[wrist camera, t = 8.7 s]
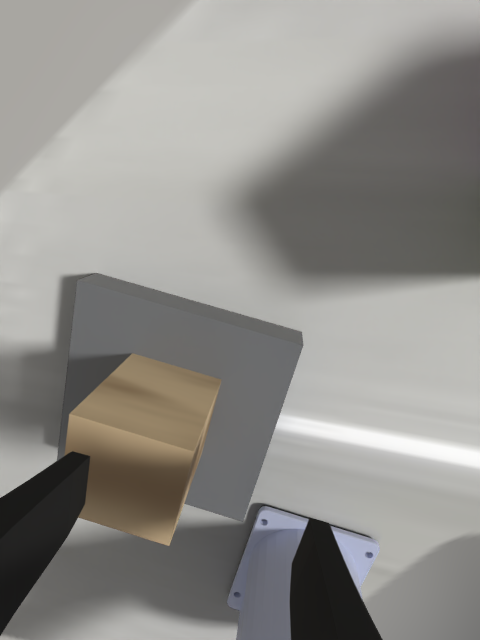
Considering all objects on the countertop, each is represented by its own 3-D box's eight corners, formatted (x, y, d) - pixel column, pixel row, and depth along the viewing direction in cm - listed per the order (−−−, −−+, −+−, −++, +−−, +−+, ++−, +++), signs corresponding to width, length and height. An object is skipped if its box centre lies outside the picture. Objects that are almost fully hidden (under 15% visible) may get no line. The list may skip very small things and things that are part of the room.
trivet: (246, 496, 24) (242, 521, 22) (74, 443, 25) (56, 463, 23) (301, 332, 20) (303, 345, 18) (96, 273, 21) (77, 280, 19)
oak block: (201, 454, 21) (169, 546, 16) (119, 429, 21) (57, 510, 16) (221, 379, 20) (193, 451, 14) (132, 353, 20) (69, 413, 14)
